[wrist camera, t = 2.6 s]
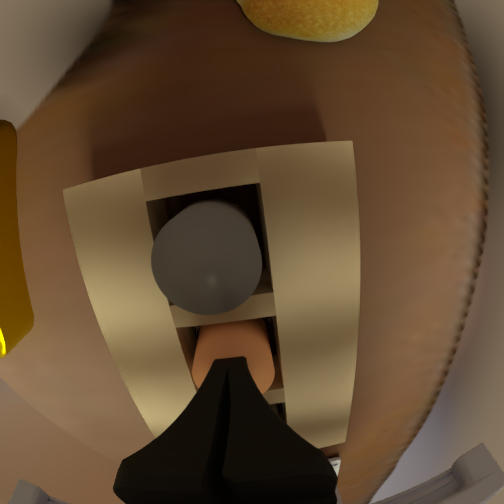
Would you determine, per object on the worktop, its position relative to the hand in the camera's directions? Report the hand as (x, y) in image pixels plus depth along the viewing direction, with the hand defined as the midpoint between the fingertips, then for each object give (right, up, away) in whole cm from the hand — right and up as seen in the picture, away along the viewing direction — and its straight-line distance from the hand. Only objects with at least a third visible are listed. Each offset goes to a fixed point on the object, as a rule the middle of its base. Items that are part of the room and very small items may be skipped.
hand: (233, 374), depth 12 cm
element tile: (-21, +7, +2) cm, 22 cm away
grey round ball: (-1, +6, +1) cm, 6 cm away
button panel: (0, +1, +4) cm, 4 cm away
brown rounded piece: (0, +1, +3) cm, 3 cm away
